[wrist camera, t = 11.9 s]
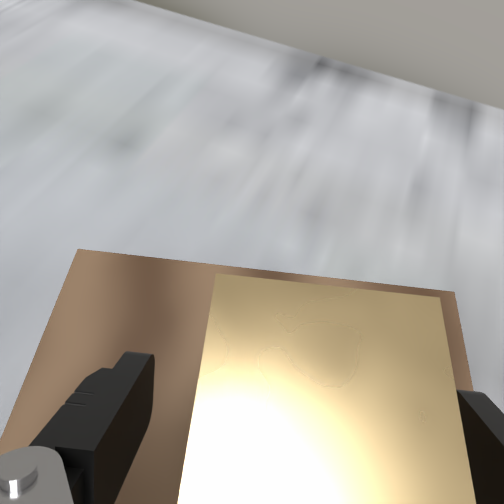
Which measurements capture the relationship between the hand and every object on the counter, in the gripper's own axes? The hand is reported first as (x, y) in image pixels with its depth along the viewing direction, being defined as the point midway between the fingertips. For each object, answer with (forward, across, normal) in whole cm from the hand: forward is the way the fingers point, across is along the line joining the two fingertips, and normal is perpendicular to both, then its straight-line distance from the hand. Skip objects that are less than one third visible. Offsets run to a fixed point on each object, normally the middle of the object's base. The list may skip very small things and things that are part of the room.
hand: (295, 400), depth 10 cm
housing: (+4, 0, +5) cm, 7 cm away
